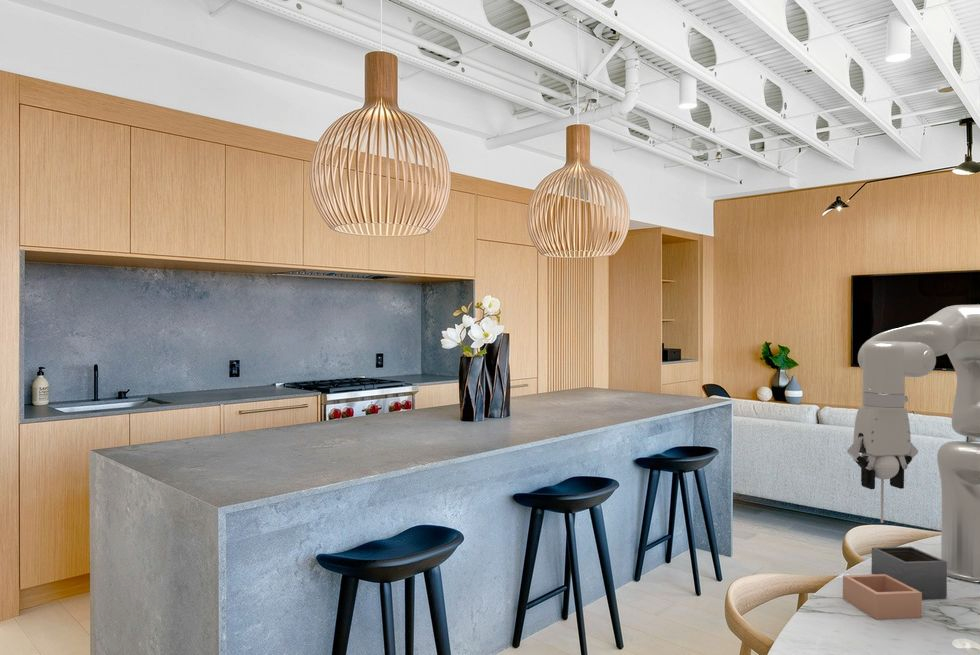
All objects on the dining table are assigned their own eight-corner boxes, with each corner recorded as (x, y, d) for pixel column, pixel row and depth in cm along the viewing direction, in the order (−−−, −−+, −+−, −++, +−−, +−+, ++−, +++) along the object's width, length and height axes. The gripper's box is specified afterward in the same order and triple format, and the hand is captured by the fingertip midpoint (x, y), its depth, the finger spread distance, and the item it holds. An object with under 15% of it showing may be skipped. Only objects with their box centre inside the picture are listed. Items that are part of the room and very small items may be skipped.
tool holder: (885, 597, 139) (885, 574, 139) (921, 617, 129) (921, 592, 129) (842, 598, 138) (843, 575, 138) (876, 619, 128) (876, 594, 128)
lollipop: (892, 528, 129) (893, 454, 129) (861, 522, 134) (861, 450, 134) (902, 523, 133) (903, 451, 133) (871, 516, 138) (872, 447, 138)
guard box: (910, 580, 148) (911, 546, 148) (946, 598, 138) (946, 561, 139) (871, 582, 147) (871, 547, 147) (904, 600, 137) (905, 563, 137)
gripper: (906, 399, 138) (906, 482, 138) (833, 399, 136) (832, 484, 136) (935, 403, 131) (934, 491, 131) (857, 403, 129) (857, 492, 129)
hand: (882, 486), depth 134 cm, fingers closed on lollipop, 5 cm apart
